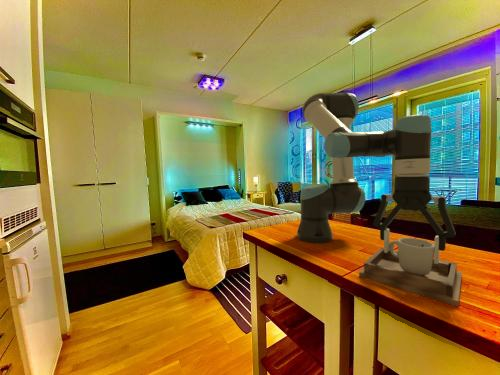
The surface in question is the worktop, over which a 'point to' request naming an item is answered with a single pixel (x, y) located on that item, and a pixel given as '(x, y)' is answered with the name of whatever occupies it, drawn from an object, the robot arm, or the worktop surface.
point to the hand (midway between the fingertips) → (409, 256)
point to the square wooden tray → (415, 277)
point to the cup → (414, 255)
